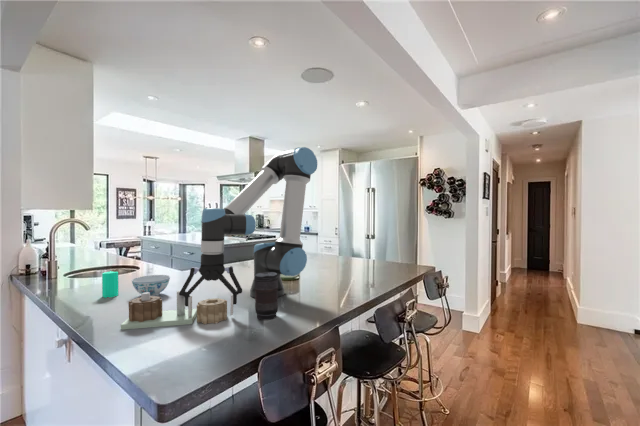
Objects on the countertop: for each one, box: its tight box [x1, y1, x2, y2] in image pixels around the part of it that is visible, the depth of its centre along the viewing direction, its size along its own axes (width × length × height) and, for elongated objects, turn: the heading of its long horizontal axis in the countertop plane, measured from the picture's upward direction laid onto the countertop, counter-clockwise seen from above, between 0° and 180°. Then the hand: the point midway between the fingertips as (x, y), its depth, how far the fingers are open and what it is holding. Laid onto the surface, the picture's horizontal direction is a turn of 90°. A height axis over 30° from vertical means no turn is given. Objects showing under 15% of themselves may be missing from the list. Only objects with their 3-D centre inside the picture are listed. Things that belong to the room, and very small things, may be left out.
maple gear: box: [196, 297, 228, 325], centre depth 109 cm, size 10×10×6 cm
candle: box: [101, 268, 119, 299], centre depth 140 cm, size 6×6×12 cm
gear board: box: [120, 290, 197, 330], centre depth 107 cm, size 21×12×10 cm, turn 103°
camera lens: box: [253, 272, 279, 321], centre depth 111 cm, size 8×8×15 cm
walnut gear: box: [128, 296, 163, 322], centre depth 106 cm, size 10×10×6 cm
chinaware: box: [131, 274, 171, 297], centre depth 141 cm, size 15×15×8 cm
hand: (211, 315), depth 108 cm, fingers open, 13 cm apart
